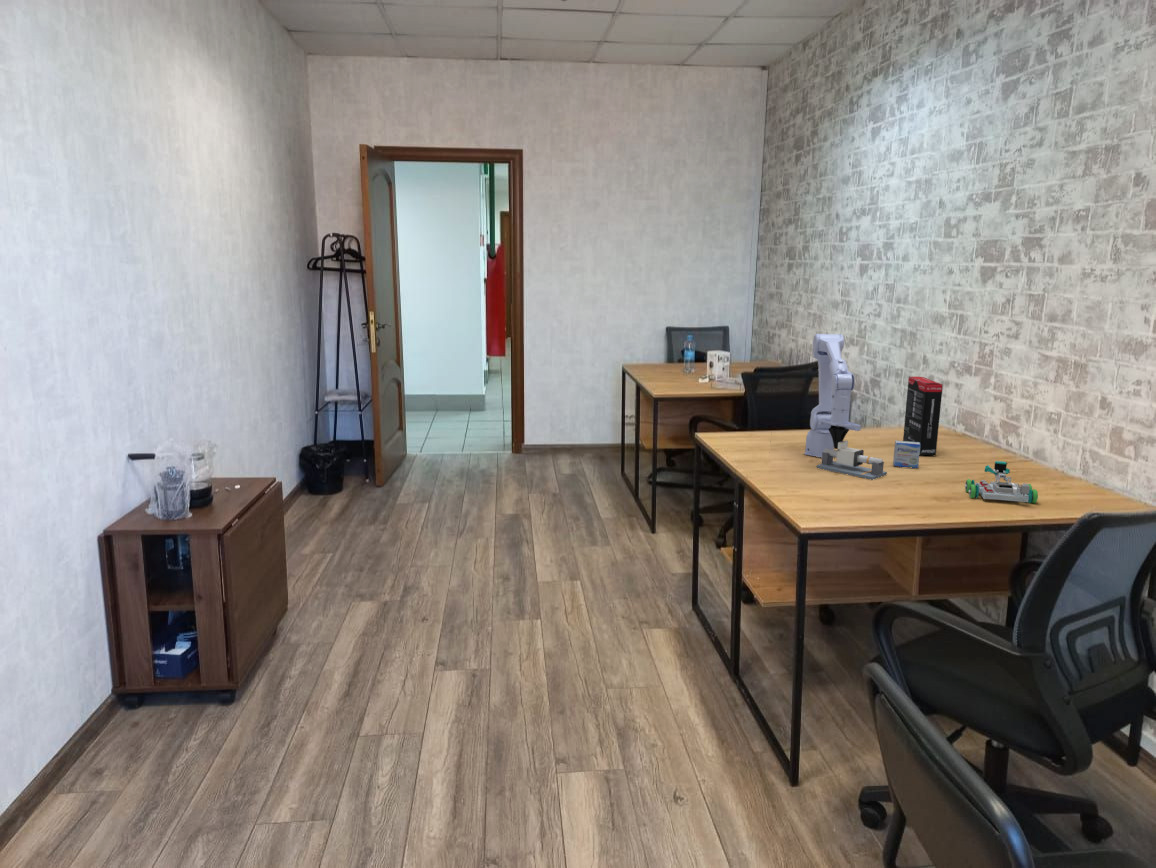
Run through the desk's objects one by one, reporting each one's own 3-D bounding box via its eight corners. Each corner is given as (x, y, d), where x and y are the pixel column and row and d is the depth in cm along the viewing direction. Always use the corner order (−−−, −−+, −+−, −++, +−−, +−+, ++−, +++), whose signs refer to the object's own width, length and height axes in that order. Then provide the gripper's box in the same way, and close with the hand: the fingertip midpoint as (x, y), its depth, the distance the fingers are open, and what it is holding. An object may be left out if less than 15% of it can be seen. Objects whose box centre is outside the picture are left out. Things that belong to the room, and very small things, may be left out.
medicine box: (893, 467, 273) (896, 442, 272) (892, 464, 278) (895, 439, 276) (918, 469, 271) (920, 444, 269) (916, 465, 275) (919, 441, 274)
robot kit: (1019, 486, 253) (1023, 457, 251) (1041, 508, 229) (1045, 477, 227) (956, 481, 258) (959, 453, 256) (971, 502, 234) (974, 472, 232)
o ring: (852, 466, 263) (854, 451, 262) (860, 464, 267) (861, 449, 266) (855, 467, 262) (856, 452, 261) (863, 464, 266) (864, 449, 265)
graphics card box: (937, 457, 288) (945, 383, 283) (917, 456, 289) (925, 382, 283) (918, 446, 305) (925, 376, 299) (900, 446, 305) (907, 376, 300)
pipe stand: (816, 468, 270) (818, 450, 269) (831, 463, 277) (833, 445, 276) (872, 480, 256) (874, 461, 255) (886, 474, 263) (888, 456, 262)
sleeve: (836, 462, 268) (838, 442, 266) (843, 460, 271) (845, 440, 269) (853, 466, 263) (854, 445, 262) (860, 463, 267) (861, 443, 265)
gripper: (814, 407, 269) (811, 446, 272) (854, 413, 258) (851, 454, 261) (825, 405, 274) (822, 443, 276) (865, 411, 263) (861, 450, 266)
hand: (837, 448), depth 269 cm, fingers closed
